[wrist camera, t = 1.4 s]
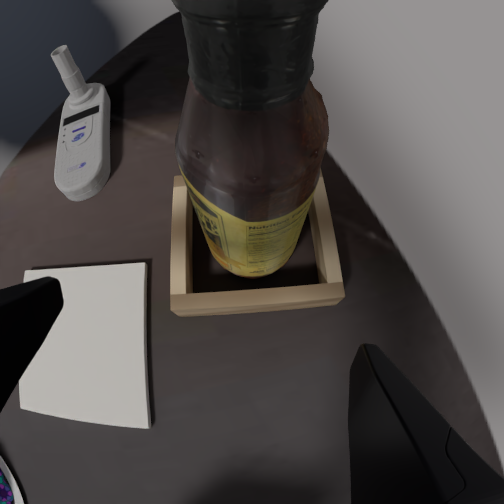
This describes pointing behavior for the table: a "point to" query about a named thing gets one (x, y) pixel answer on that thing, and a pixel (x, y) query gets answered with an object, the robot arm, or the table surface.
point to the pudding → (3, 496)
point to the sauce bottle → (251, 127)
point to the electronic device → (81, 133)
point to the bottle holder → (255, 299)
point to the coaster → (93, 349)
